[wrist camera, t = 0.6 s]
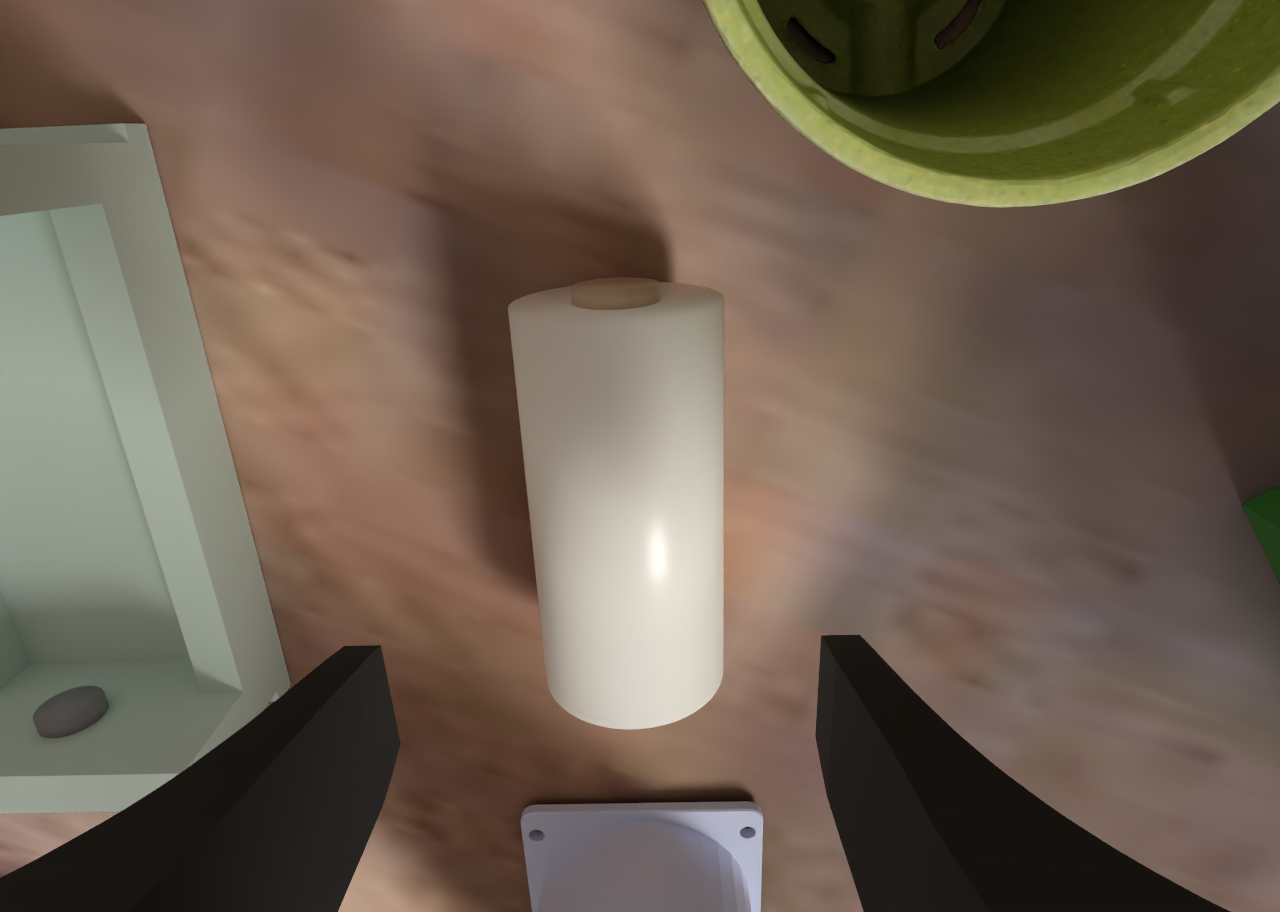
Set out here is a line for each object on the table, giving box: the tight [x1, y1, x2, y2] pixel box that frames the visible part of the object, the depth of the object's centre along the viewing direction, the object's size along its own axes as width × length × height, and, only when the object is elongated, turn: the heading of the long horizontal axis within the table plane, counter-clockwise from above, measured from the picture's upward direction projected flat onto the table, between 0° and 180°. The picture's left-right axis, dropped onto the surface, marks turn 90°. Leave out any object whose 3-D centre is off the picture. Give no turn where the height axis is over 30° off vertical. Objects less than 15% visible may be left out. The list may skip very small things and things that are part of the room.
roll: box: [508, 277, 724, 729], centre depth 19 cm, size 11×5×5 cm, turn 2°
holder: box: [0, 123, 291, 814], centre depth 19 cm, size 16×8×5 cm, turn 2°
